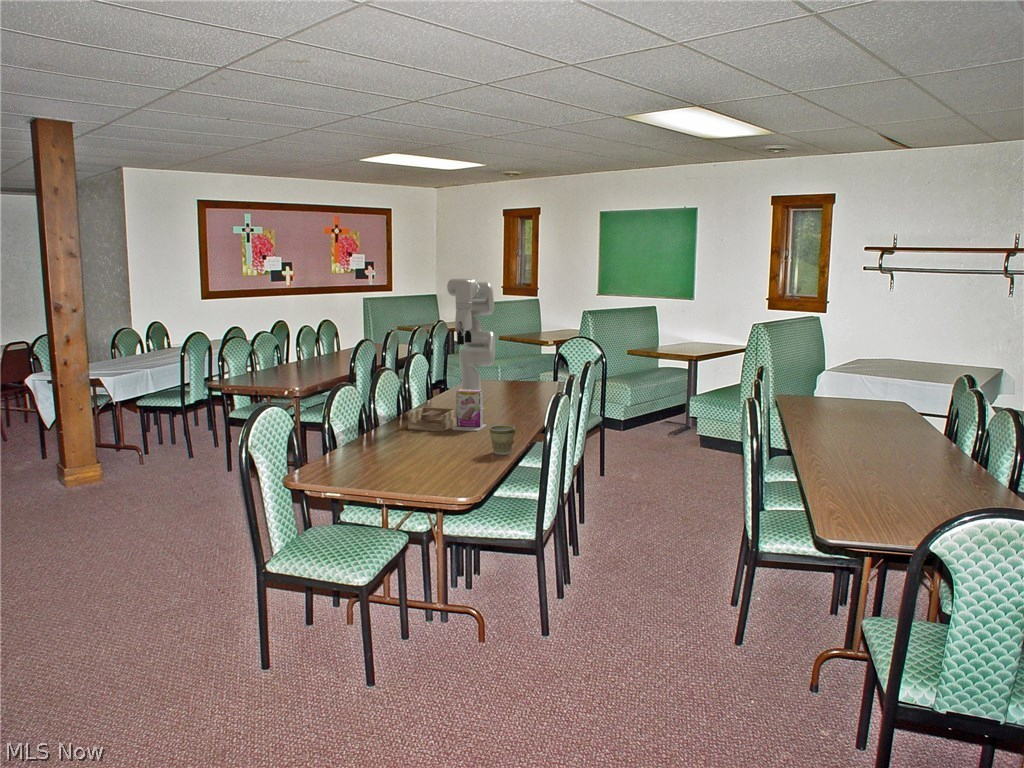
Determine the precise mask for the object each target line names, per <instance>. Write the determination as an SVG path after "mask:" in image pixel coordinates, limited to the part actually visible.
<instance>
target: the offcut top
mask: <svg viewBox="0 0 1024 768" xmlns="http://www.w3.org/2000/svg"><path fill="white" fill-rule="evenodd" d="M441 415H442V412H441V411H429V412H427V413H424V414H421V420H427V421H432V420H434V419H437V418H440V417H441Z"/></svg>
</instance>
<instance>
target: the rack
mask: <svg viewBox="0 0 1024 768" xmlns="http://www.w3.org/2000/svg"><path fill="white" fill-rule="evenodd" d="M429 411H441V412H442V415H441V424H429V423H416V419H417V418H419V417H421V414H424V413H427V412H429ZM407 418H408V419H407V421H408V422H407V429H408V430H413V429H414V430H416V431H428V430H430V432H431V431H432V432H445V431H446V430H448V429H450V428H453V427H455V426H457V408H449V407H448V408H447V407H446V408H445V407H432V406H431V407H428V406H423V407H420V408H417V409H416V410H414V411H411V412H409V413H407Z"/></svg>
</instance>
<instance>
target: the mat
mask: <svg viewBox="0 0 1024 768" xmlns="http://www.w3.org/2000/svg"><path fill="white" fill-rule="evenodd" d="M486 427H487V424H486V423H485V424H484V423H483V425H482V426H481V427H460V426H457V425H455V426H453V427H451V430H452V431H466V432H467V431H468V432H478V431H480V430H482V429H484V428H486Z"/></svg>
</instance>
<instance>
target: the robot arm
mask: <svg viewBox="0 0 1024 768" xmlns="http://www.w3.org/2000/svg"><path fill="white" fill-rule="evenodd" d="M446 289H447V292H448V294H449V295H450V296H452V297H455V318H454V319H455V320H454V321H455V322H454V324H455V325H454V326H455V327H454V330H455V331H456V344H457V345H462V346H463V345H464V347H463V348H462V349H461V350H460V351H459V356H458V357H459V364H460V369H461V389H464V390H482V388H481V387H482V386H481V385H482V384H481V382H482V381H481V373H480V371H479V370H478V369H477V367H492V366H493V365H494V363H495V358H496V356H495V355H496V335H495V333H494V332H493V331H491V330H483V329H482V328H483V327H482V325H483V324H482V323H481V321H480V320H479V319H478V318H476V317H475V316H491V315H493V313H494V312H495V299H494V291H493V286H492V284H491V282H485V281H484V282H483V281H482V282H481V281H479V282H477V281H476V280H475V279H473V278H451V279H449V280H448V282H447V284H446ZM484 410H485V407H484V406H483V411H484Z"/></svg>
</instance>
